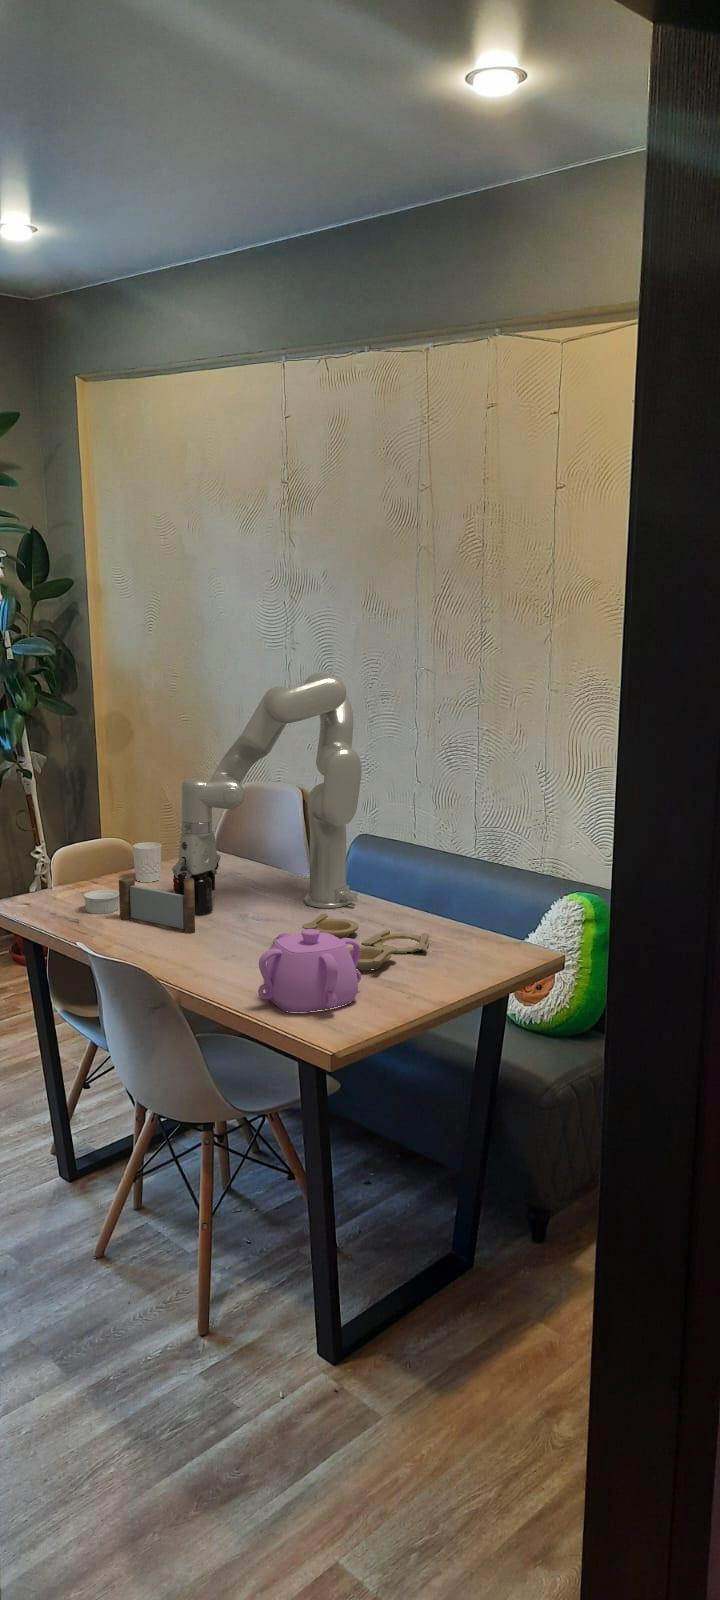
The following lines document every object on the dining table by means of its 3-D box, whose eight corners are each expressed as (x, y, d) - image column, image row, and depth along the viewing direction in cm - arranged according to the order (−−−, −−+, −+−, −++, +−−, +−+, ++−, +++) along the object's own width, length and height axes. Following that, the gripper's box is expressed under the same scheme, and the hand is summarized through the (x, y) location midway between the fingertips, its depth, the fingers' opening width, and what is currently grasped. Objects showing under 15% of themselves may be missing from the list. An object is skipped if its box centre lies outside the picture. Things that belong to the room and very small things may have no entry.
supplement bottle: (203, 907, 289) (202, 861, 287) (217, 913, 284) (217, 867, 282) (180, 911, 285) (179, 865, 282) (194, 917, 279) (193, 871, 277)
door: (190, 926, 270) (189, 894, 269) (183, 929, 268) (182, 896, 267) (138, 915, 279) (137, 884, 278) (130, 917, 277) (129, 886, 275)
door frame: (198, 931, 268) (197, 878, 266) (189, 934, 266) (188, 881, 264) (128, 916, 280) (126, 865, 278) (120, 919, 278) (118, 868, 275)
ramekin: (88, 905, 290) (87, 889, 289) (122, 905, 290) (122, 889, 289) (81, 915, 281) (80, 898, 280) (116, 915, 281) (115, 898, 281)
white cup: (138, 875, 320) (137, 841, 318) (165, 876, 319) (164, 842, 317) (130, 882, 312) (129, 848, 310) (157, 883, 311) (156, 848, 309)
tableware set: (443, 943, 262) (444, 927, 261) (394, 982, 236) (395, 964, 235) (310, 924, 276) (310, 908, 275) (250, 958, 250) (250, 941, 249)
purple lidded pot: (333, 1023, 212) (334, 950, 210) (237, 1006, 220) (236, 936, 218) (371, 991, 230) (372, 923, 227) (281, 976, 238) (280, 911, 235)
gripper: (185, 835, 271) (185, 903, 274) (230, 824, 285) (230, 889, 288) (162, 831, 275) (162, 898, 278) (207, 820, 289) (207, 884, 292)
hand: (197, 893), depth 283 cm, fingers open, 9 cm apart
